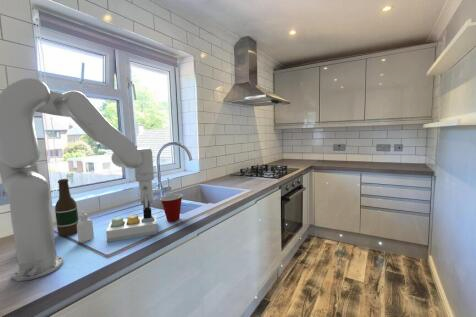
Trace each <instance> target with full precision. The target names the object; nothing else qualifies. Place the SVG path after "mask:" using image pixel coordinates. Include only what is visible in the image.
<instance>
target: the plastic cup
mask: <svg viewBox="0 0 476 317" xmlns="http://www.w3.org/2000/svg"><path fill="white" fill-rule="evenodd" d="M182 197H183V194H181V193H174V194H167V195H164V196H162V197H160V198H159V200H160V202H161V204H162V206H163V210H164V215H165V218H166V221H167V222H168V223H175V222H178V221H179V220H180V218H181V217H180V215H181V207H182V199H183V198H182Z"/></svg>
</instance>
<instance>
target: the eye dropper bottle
mask: <svg viewBox="0 0 476 317" xmlns="http://www.w3.org/2000/svg"><path fill="white" fill-rule="evenodd" d="M79 216H80V221H79V222H78V223H77V233H76V234H77V241H78V242H79V243H86V242H88V241H90V240H92V239H94V237H95V232H94V225H93V220H92V219H90V218H88V214H87V213H85V210H83V211H82V212H81V214H80V215H79Z"/></svg>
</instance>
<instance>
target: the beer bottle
mask: <svg viewBox="0 0 476 317" xmlns="http://www.w3.org/2000/svg"><path fill="white" fill-rule="evenodd" d="M57 183H58V200H57V202H56V203H55V208H54V213H55V221H56V228H57V235H58V236H59V237H63V238H64V237H70V236H73V235H76V234H77V223H78V222H80V221H79V214H78V213H79V212H78V206H77V202H76V200H75V199H74V198H73V197H72V196H71V195H72V194H71V192H70V191H71V190H70V187H69V179H68V178H63V179H62V178H61V179H59V180H58V181H57Z"/></svg>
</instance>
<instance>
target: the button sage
mask: <svg viewBox="0 0 476 317" xmlns="http://www.w3.org/2000/svg"><path fill="white" fill-rule="evenodd" d="M123 219H124V217H121V216H120V217H113V218H112V219H111V221H112V227H118V226H124V222H123Z"/></svg>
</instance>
